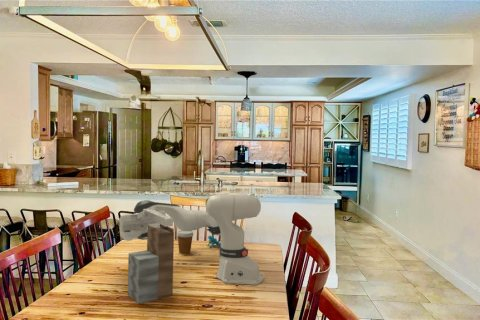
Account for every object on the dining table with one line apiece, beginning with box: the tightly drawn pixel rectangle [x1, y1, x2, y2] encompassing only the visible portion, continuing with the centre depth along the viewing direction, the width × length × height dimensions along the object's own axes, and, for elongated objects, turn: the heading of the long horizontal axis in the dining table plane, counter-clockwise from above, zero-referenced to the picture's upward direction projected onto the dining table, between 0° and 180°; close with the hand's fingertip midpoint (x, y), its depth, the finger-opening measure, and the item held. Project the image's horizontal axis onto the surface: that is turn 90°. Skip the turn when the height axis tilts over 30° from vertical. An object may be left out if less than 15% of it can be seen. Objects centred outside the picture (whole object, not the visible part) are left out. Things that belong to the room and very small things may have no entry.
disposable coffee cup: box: [176, 230, 194, 255], centre depth 210 cm, size 10×10×12 cm
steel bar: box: [143, 209, 174, 227], centre depth 153 cm, size 22×3×3 cm, turn 38°
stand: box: [127, 224, 175, 305], centre depth 149 cm, size 11×14×28 cm
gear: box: [206, 235, 221, 249], centre depth 223 cm, size 11×6×10 cm
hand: (149, 212), depth 159 cm, fingers closed on steel bar, 3 cm apart
